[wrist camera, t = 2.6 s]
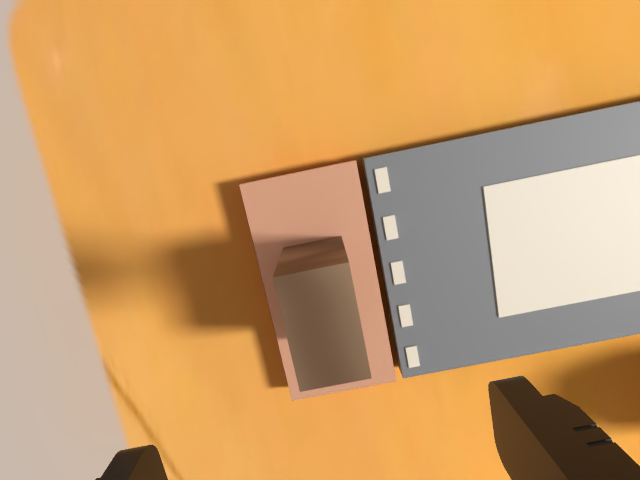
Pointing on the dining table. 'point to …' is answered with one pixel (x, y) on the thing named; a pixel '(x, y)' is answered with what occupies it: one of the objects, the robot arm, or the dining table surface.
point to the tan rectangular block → (320, 279)
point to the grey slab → (510, 239)
